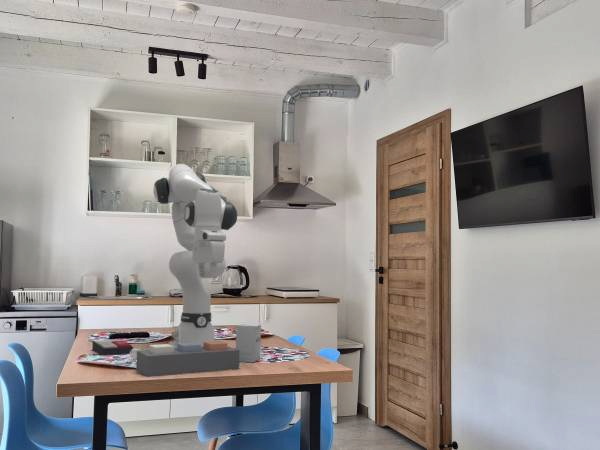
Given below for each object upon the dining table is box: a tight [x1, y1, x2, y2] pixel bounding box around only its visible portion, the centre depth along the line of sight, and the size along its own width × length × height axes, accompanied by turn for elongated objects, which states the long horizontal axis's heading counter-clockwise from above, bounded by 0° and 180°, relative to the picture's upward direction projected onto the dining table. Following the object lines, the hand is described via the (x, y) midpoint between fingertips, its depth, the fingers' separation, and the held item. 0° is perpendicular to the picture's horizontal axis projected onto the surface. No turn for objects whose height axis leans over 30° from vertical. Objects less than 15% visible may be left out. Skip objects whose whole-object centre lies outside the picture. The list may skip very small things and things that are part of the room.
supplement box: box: [235, 323, 262, 363], centre depth 201 cm, size 7×7×13 cm
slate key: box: [177, 343, 201, 353], centre depth 181 cm, size 6×6×4 cm
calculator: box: [92, 338, 134, 357], centre depth 214 cm, size 11×4×15 cm
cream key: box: [148, 343, 174, 354], centre depth 177 cm, size 6×6×4 cm
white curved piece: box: [124, 348, 142, 363], centre depth 197 cm, size 9×8×4 cm
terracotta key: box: [203, 340, 228, 351], centre depth 186 cm, size 6×6×4 cm
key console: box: [135, 345, 240, 377], centre depth 181 cm, size 12×30×6 cm, turn 121°
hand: (206, 277), depth 190 cm, fingers open, 7 cm apart
